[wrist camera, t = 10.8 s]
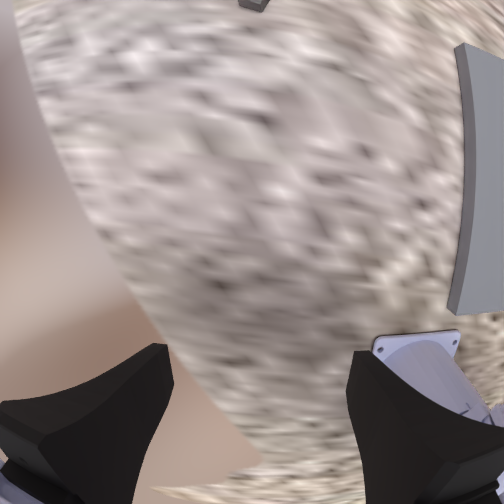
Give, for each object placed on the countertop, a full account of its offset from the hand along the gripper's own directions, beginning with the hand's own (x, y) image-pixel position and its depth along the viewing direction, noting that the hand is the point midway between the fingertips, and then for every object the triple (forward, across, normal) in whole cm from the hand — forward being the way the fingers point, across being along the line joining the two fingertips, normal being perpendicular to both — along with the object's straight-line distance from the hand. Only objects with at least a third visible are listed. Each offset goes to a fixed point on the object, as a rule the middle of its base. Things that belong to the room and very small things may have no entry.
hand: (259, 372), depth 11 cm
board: (+9, -24, -8) cm, 27 cm away
